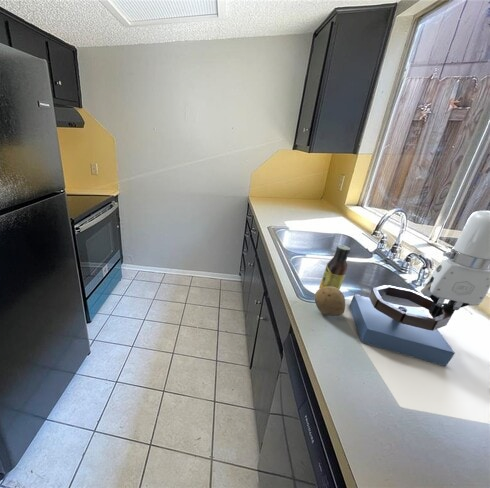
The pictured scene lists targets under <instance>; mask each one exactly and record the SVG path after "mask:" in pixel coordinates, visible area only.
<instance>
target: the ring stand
mask: <svg viewBox="0 0 490 488" xmlns="http://www.w3.org/2000/svg"><path fill="white" fill-rule="evenodd" d="M386 302H387V303H389V304H391V305H393V306H395V307H396V308H398V309H400V310H402V311H404V312H407V313H411V314H415V315H420V316H424V317H429V315H427V313H426V312H425V310H422V309H418V308H415V307H414V308H413V307H410V306H405V305H401V304H397V303H392V302H388V301H386ZM349 310H350V312H351V316H352V318H353V322H354V324H355V327H356V330H357V334H358V336H359V339H360V342H361V343H363V344H367V345H369V346H374V347H377V348H380V349H383V350H387V351H390V352H394V353H397V354H401V355H404V356H407V357H411V358H413V359H414V358H415V359H418V360H422V361H425V362H428V363H432V364H434V365H438V366H442V367H447V366H448V365H449V363H450V361H451V360H452V358H453V357H454V356H455V354H456V352H455V351H454V349H453V348H452V347H451V345H450V344H449V342H448V341H447V340H446V338H445V337H444V336H443V334H442V333H441V331H439V328H438V329H436V330H433V331H432V330H426V329H422V328H418V327H414V326H410V325H406V324H402V323H401V322H397V321H396V320H394V319H392V318H390V317H389V316H387V315H385V314H383V313H382V312H380V311H378V310H376V308H374V307H373V305H372V302H371V300H370V298H369V297H368V296H362V295H358V294H353V296H352V298H351V301H350V303H349Z"/></svg>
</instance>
